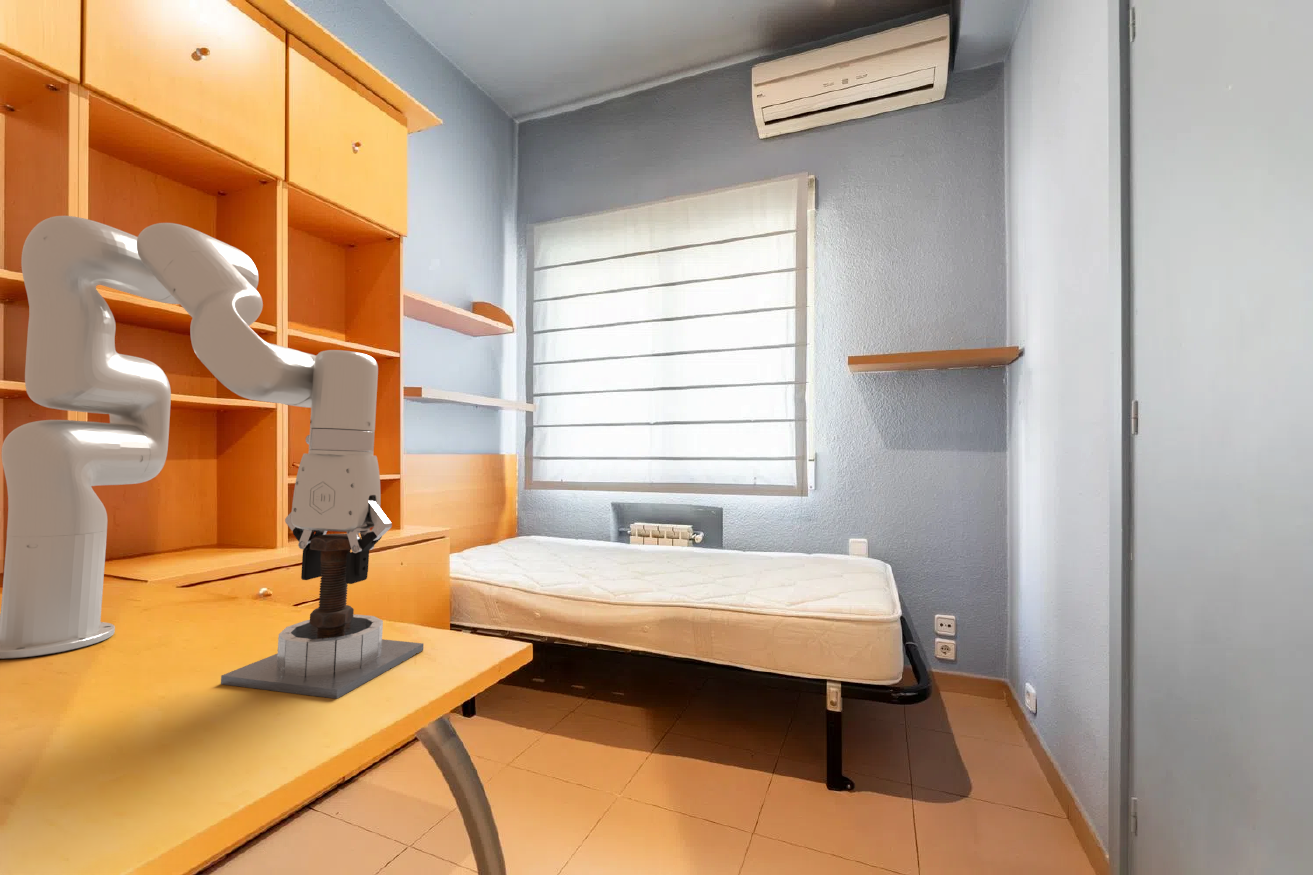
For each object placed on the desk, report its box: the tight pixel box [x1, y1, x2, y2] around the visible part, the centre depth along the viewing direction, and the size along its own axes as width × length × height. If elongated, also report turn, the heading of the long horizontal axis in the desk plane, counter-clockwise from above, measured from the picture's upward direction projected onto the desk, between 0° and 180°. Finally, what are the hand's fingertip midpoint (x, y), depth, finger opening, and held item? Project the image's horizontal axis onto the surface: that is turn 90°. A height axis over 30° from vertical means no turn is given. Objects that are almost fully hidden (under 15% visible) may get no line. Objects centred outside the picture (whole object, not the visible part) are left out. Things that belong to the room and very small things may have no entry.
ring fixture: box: [220, 614, 424, 700], centre depth 70 cm, size 16×16×5 cm
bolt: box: [309, 533, 361, 639], centre depth 71 cm, size 6×5×15 cm
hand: (334, 578), depth 71 cm, fingers open, 6 cm apart
